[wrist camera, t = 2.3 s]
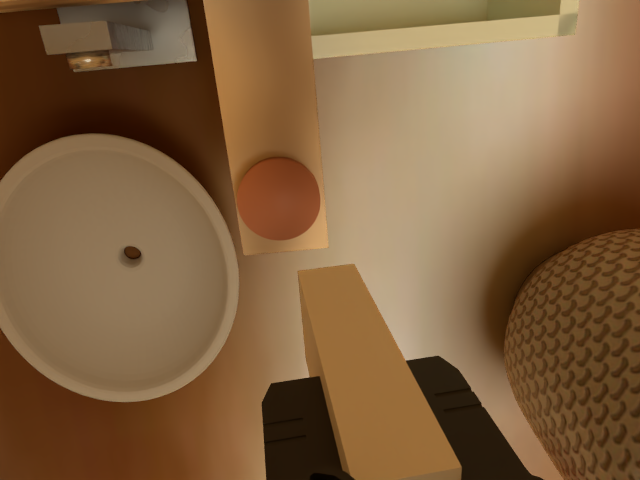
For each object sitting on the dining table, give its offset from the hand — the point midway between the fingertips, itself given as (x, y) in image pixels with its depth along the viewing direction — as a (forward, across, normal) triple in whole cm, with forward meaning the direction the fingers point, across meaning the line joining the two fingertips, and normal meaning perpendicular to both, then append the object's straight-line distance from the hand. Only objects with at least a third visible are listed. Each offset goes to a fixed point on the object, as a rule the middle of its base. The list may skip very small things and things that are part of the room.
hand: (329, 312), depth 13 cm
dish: (+21, -10, -6) cm, 24 cm away
